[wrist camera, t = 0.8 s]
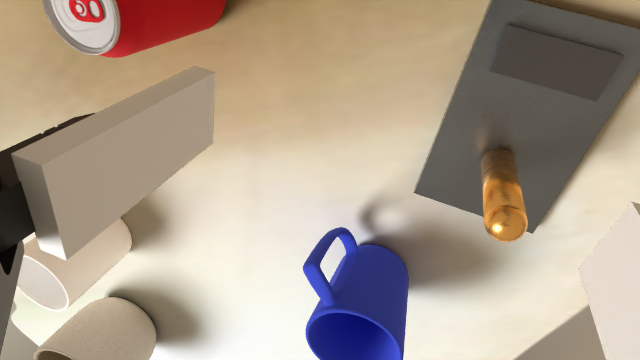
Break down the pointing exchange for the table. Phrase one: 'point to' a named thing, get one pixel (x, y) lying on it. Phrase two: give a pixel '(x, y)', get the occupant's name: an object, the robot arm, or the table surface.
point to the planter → (102, 334)
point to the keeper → (527, 111)
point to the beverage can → (128, 22)
